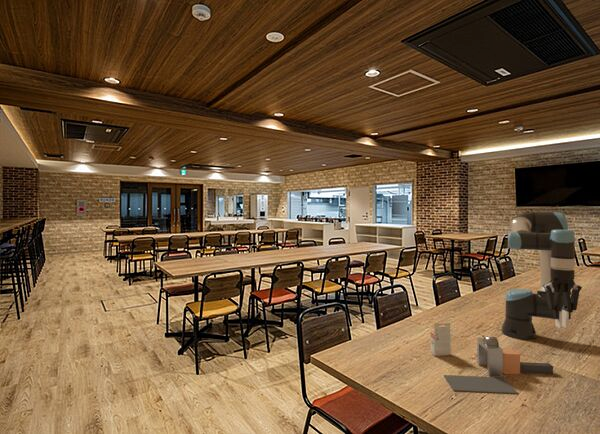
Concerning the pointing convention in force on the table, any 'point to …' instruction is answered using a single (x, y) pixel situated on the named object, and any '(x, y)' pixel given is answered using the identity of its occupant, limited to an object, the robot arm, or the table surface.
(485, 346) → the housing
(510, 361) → the plug
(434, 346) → the ink box
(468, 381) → the mat
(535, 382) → the table surface
